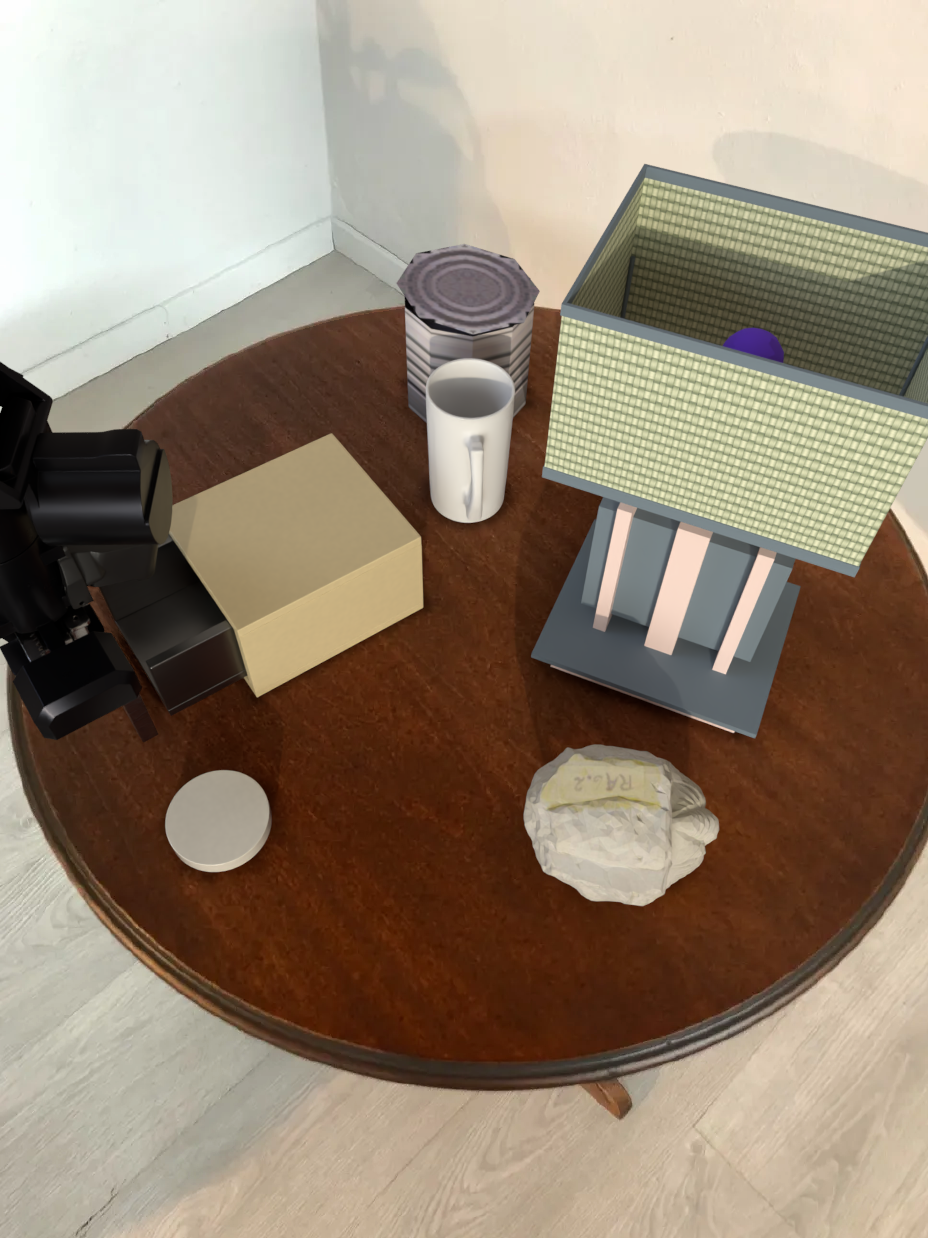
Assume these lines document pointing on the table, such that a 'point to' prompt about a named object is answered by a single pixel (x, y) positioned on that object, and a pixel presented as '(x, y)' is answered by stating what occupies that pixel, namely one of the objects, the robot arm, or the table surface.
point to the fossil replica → (617, 823)
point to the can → (466, 316)
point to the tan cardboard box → (301, 559)
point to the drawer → (174, 636)
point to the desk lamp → (727, 430)
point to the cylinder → (218, 820)
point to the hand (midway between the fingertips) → (73, 674)
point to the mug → (469, 437)
